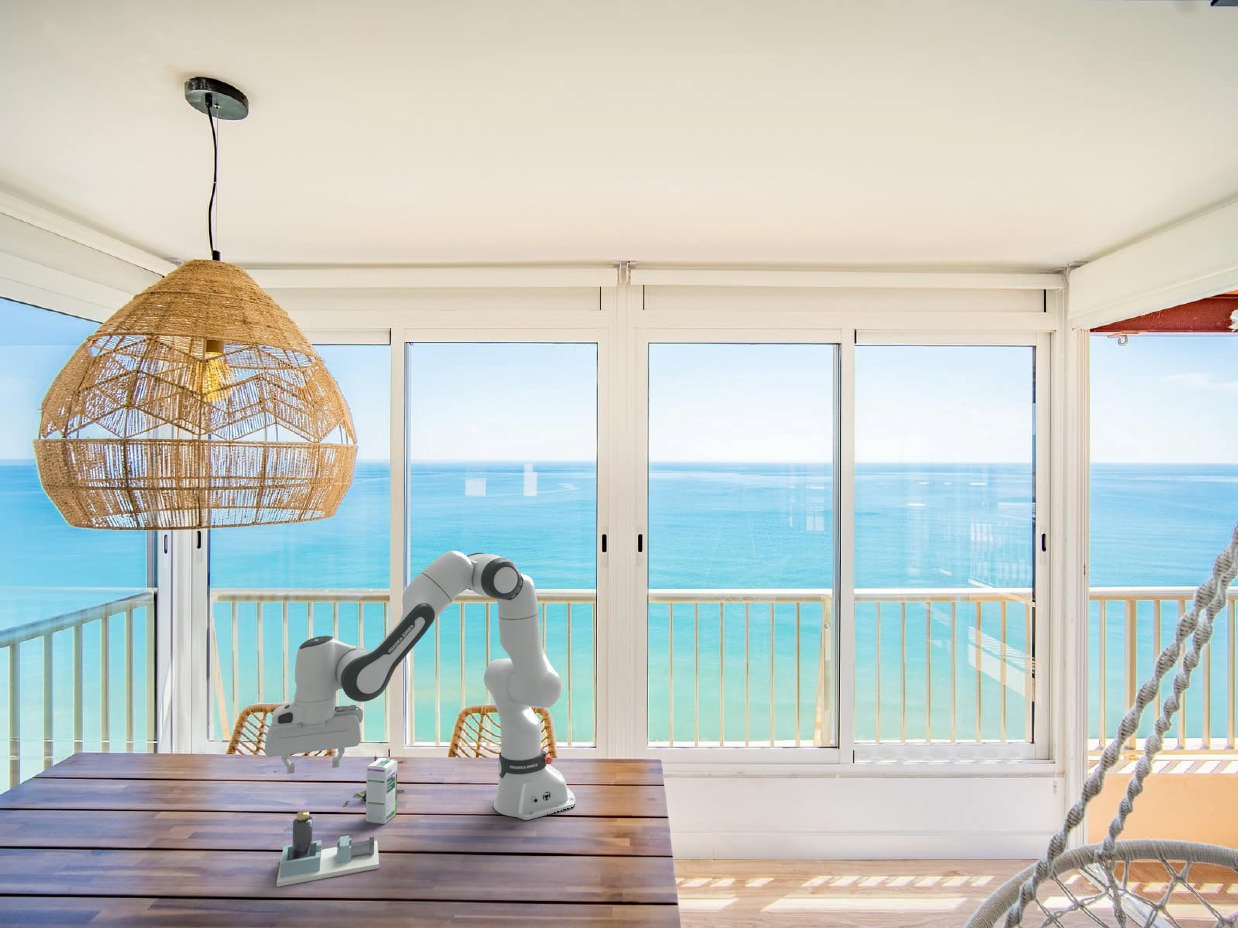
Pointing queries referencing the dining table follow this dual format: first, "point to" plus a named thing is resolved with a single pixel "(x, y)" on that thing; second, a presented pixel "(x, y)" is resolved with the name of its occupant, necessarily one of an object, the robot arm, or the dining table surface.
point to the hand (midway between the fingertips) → (313, 769)
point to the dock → (324, 863)
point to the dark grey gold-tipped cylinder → (302, 835)
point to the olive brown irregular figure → (363, 793)
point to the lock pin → (362, 847)
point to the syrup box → (381, 790)
